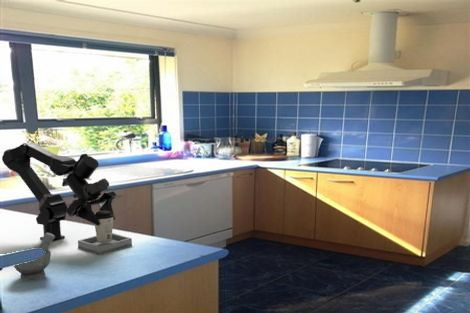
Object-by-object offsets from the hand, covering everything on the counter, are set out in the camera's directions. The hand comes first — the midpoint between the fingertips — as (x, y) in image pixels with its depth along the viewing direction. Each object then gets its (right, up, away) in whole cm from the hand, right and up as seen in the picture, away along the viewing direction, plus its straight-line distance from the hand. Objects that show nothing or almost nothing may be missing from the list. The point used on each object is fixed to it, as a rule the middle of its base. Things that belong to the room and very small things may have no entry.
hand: (106, 222), depth 149 cm
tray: (-1, -9, +1) cm, 9 cm away
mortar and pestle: (-13, -12, -25) cm, 30 cm away
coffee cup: (-1, -7, +1) cm, 7 cm away
